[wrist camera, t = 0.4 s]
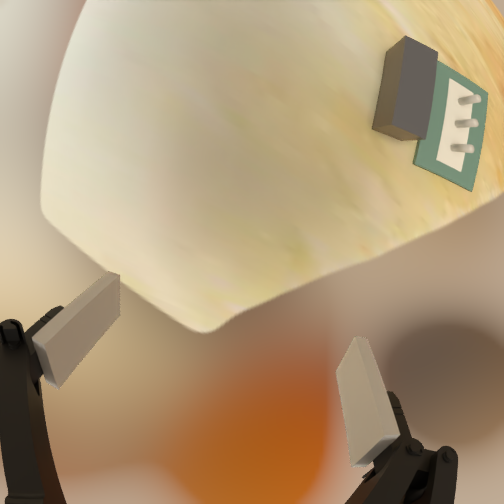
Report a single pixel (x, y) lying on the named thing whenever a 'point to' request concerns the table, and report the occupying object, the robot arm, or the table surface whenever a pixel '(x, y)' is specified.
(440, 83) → the green peg board
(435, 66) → the block
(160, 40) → the table surface
